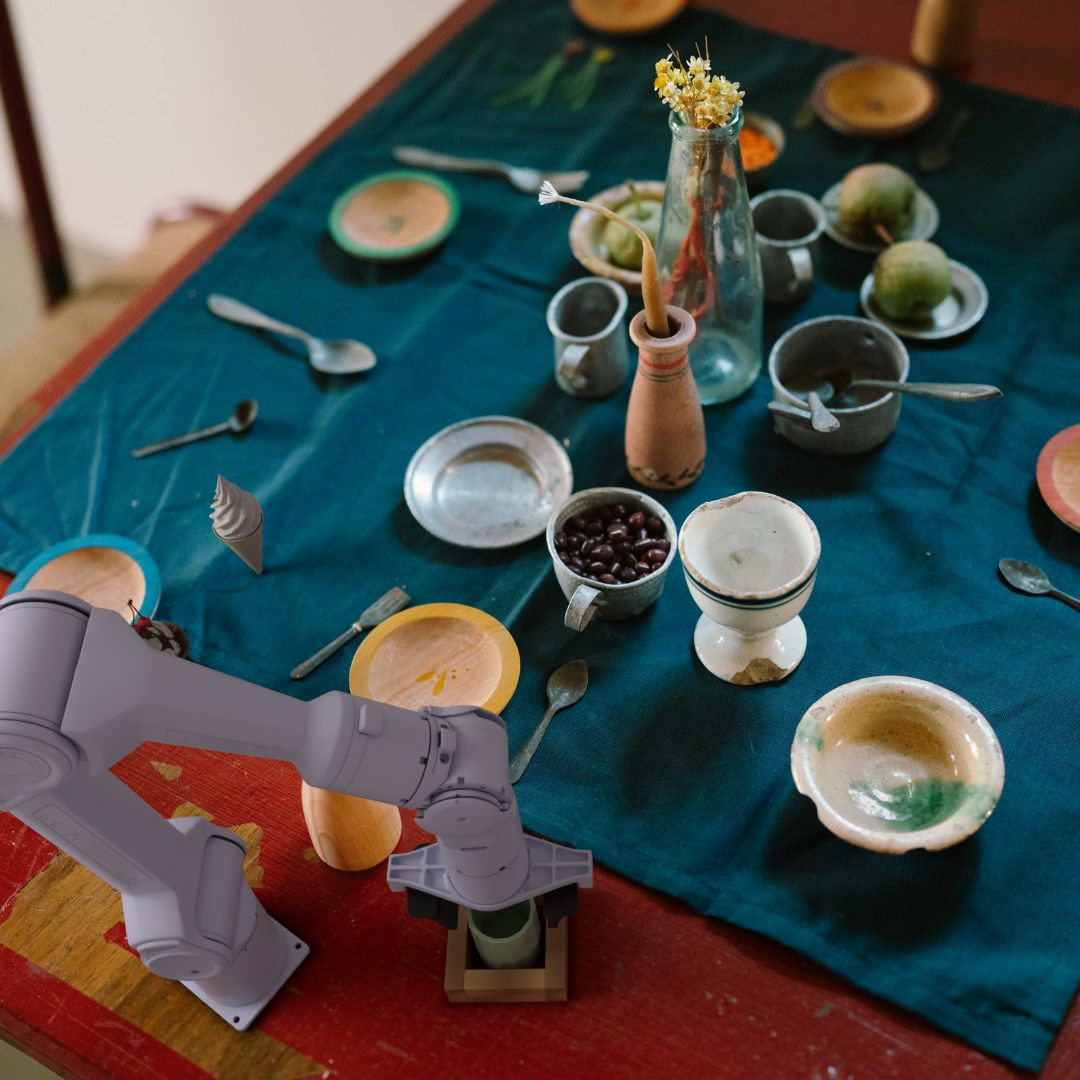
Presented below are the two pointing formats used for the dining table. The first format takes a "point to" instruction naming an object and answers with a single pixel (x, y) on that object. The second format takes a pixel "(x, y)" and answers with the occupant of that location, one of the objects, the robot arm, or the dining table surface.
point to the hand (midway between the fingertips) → (503, 916)
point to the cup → (507, 935)
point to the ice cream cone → (238, 522)
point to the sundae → (161, 635)
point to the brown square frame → (505, 981)
